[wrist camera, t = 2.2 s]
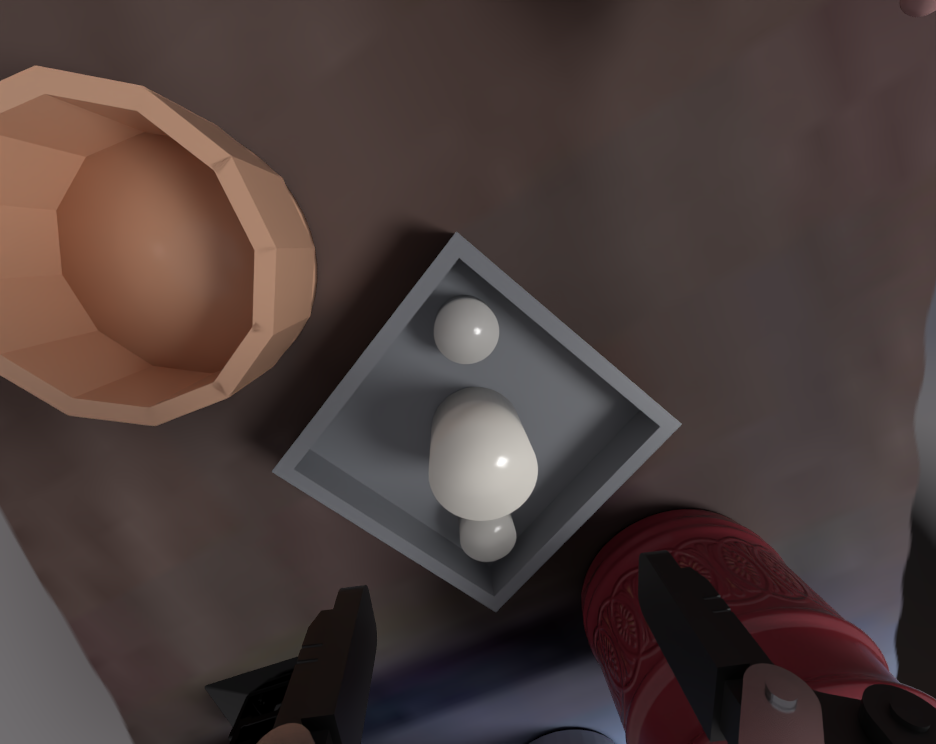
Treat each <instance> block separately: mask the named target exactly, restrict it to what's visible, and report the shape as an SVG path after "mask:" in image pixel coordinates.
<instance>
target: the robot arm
mask: <svg viewBox="0 0 936 744" xmlns="http://www.w3.org/2000/svg"><path fill="white" fill-rule="evenodd" d="M638 599H639V604H640V608H641V611H642V614H643V616H644V619H645V621H646V622H647V624H648V626H649V628H650V630H651V632H652V634H653V636H654V638H655V639H656V641H657V643H658V645H659V647H660V649H661V651H662V653H663V654H664V656H665V658H666V660H667V662H668V664H669V666H670V668H671V669H672V671H673V673H674V675H675V677H676V679H677V681H678V683H679V685H680V686H681V688H682V690H683V692H684V694H685V696H686V698H687V700H688V701H689V703H690V705H691V707H692V709H693V711H694V713H695V715H696V717H697V718H698V720H699V722H700V724H701V726H702V728H703V730H704V732H705V733H706V735H707V737H708V739H709V741H710V742H716V741H724V740H726V741H727V742H728V744H936V708H935V707H933V706H932V705H931V704H930V703H928V702H927V701H925V700H924V699H922V698H920V697H919V696H917V695H915V694H913V693H911V692H909V691H907V690H904V689H902V688H899V687H896V686H892V685H887V684H874V685H871V686H868V687H867V688H866V689H865V690H864V692H863V695H862V699H861V700H860V699H854V698H849V697H844V696H838V695H833V694H827V693H823V692H819V691H815V690H812V689H811V688H810V687H809V686H808V685H807V684H806V683H805V682H804V681H803V680H802V679H801V678H799V677H798V676H797V675H795V674H794V673H792V672H790V671H788V670H786V669H784V668H782V667H779V666H776V665H774V663H773V662H772V661H771V660H770V659H769V657H768V656H767V655H766V653H765V652H764V651H763V650H762V648H761V647H760V646H759V645H758V643H757V642H756V641H755V639H754V638H753V637H752V636H751V634H750V633H749V632H748V630H747V629H746V628H745V627H744V625H743V624H742V623H741V621H740V620H739V619H738V618H737V616H736V615H735V614H734V612H731V610H730V607H729V606H728V605H727V603H726V602H725V601H724V600H723V598H722V599H721V597H720V595H719V593H718V592H717V591H716V589H715V588H714V587H713V586H712V584H711V583H710V582H709V580H708V579H706V578H705V577H704V576H702V575H701V574H699V573H698V572H697V571H695V570H694V569H692V568H691V567H685V568H681V567H680V566H679V565H678V563H677V562H676V561H675V559H674V558H673V556H672V555H671V554H670V553H669V552H668V551H667V550H662V551H654V552H646V553H641V554H640V555H639V571H638ZM376 647H377V630H376V623H375V618H374V613H373V608H372V604H371V599H370V594H369V589H368V587H367V586H366V585H364V586H356V587H347V588H341V589H340V590H339V592H338V595H337V598H336V602H335V605H334V608H333V609H331V610H323V611H321V612H320V613H319V614H318V616H317V617H316V618H315V620H314V621H313V622H312V623H311V625H310V626H309V627H308V630H307V633H306V636H305V639H304V642H303V644H302V649H301V650H300V653H299V656H298V659H297V664H296V665H295V667H294V670H293V673H292V676H291V679H290V682H289V684H288V687H287V690H286V693H285V696H284V699H283V701H282V704H281V707H280V710H279V713H278V716H277V719H276V721H275V724H274V726H273V729H272V730H271V731H270V732H268V733H267V734H266V735H265V736H264V737H263V738H262V739H261V740H260V741H259V742H258V743H257V744H361V739H362V733H363V727H364V720H365V714H366V708H367V702H368V696H369V690H370V684H371V678H372V672H373V666H374V660H375V654H376ZM529 744H615V743H614V742H613V741H612V740H610V739H609V738H607V737H606V736H604V735H601V734H598V733H595V732H592V731H586V730H564V731H558V732H553V733H550V734H547V735H544V736H542V737H540V738H538V739H536V740H534V741H532V742H531V743H529Z"/></svg>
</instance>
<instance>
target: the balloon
mask: <svg viewBox="0 0 936 744" xmlns="http://www.w3.org/2000/svg"><path fill="white" fill-rule="evenodd" d="M900 8H901V10H902V11H903V12H904V13H905V14H907V15H909V16H912V17H922V16H925V15H928V14H930V13H932V12H934V11H935V10H936V0H900Z"/></svg>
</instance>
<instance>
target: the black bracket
mask: <svg viewBox="0 0 936 744" xmlns="http://www.w3.org/2000/svg"><path fill="white" fill-rule="evenodd" d="M297 659H298V657H295V658H292V659H289V660H285V661H282V662H279V663H276V664H273V665H270V666H266V667H263V668H260V669H257V670H254V671H251V672H247V673H244V674H241V675H238V676H235V677H232V678H228V679H225V680H222V681H219V682H216V683H212V684H209V685H206V686H205V689H206V691H207V692H208V693H209V695H210V696H211V697H212V699H213V700H214V702H215V703H216V704H217V706H218V707H219V709H220V710H221V711H222V713H223V714H224V715H225V717H226V718H227V720H228V721H229V722H230V724H231V725H232V727H233V728H232V730H231V732H230V735H229V737H228V738H229V740H230V744H257V743H258V742H259V741H260V740H261V739H262V738H263V737H264V736H265V735H266V734H267V733H268V732H270V731H271V730H272V729H273V726H274V724H275V721H276V719H277V716H278V713H279V710H280V707H281V704H282V701H283V699H284V696H285V693H286V690H287V687H288V684H289V682H290V679H291V676H292V673H293V670H294V667H295V665H296V664H297Z"/></svg>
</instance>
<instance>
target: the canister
mask: <svg viewBox="0 0 936 744" xmlns="http://www.w3.org/2000/svg"><path fill="white" fill-rule="evenodd" d="M662 550H667V551H668V552H669V553H670V554H671V555H672V556H673V558H674V559H675V561H676V562H677V563H678V565H679V566H680V567H681V568H685V567H691V568H692V569H694V570H695V571H697V572H698V573H699V574H701V575H702V576H704V577H705V578H706V579H708V580H709V582H710V583H711V584H712V586H713V587H714V588H715V589H716V591H717V592H718V593H719V595H720V597H721V599H722V598H723V600H724V601H725V602H726V603H727V605H728V606H729V607H730V610H731V612H734V614H735V615H736V616H737V618H738V619H739V620H740V621H741V623H742V624H743V625H744V627H745V628H746V629H747V630H748V632H749V633H750V634H751V636H752V637H753V638H754V639H755V641H756V642H757V643H758V645H759V646H760V647H761V648H762V650H763V651H764V652H765V653H766V655H767V656H768V657H769V659H770V660H771V661H772V662H773V663H774V665H776V666H779V667H782V668H784V669H786V670H788V671H790V672H792V673H794V674H795V675H797V676H798V677H799V678H801V679H802V680H803V681H804V682H805V683H806V684H807V685H808V686H809V687H810V688H811V689H812V690H815V691H819V692H823V693H827V694H833V695H838V696H844V697H849V698H854V699H860V700H861V699H862V695H863V692H864V690H865V689H866V688H867V687H868V686H871V685H874V684H887V685H892V686H896V687H899V688H902V689H904V690H907V691H909V692H911V693H913V694H915V695H917V696H919V697H920V698H922V699H924V700H925V701H927V702H928V703H930V704H931V705H932V706H933V707H935V708H936V699H934V698H933V697H931V696H929V695H928V694H926V693H924V692H922V691H920V690H917V689H915V688H913V687H910V686H907V685H904V684H901V683H900V682H898V680H897V679H896V678H895V677H894V676H893V675H892V674H891V673H890V672H889V668H888V665H887V662H886V660H885V658H884V656H883V654H882V652H881V651H880V649H879V648H878V646H877V645H876V644H875V642H874V641H873V640H872V639H871V638H870V637H869V636H868V635H867V634H866V633H865V632H863V631H862V630H861V629H860V628H858V627H857V626H855V625H854V624H852V623H850V622H848V621H846V620H845V619H844V618H842V617H841V616H840V615H839V614H838V613H837V612H836V611H835V610H834V609H833V608H832V607H831V606H830V605H829V604H827V603H826V602H825V601H824V600H823V599H822V598H821V597H820V596H819V595H818V594H817V593H816V592H815V591H813V590H812V589H811V588H810V587H809V586H808V585H807V584H806V583H805V582H804V581H803V580H802V579H801V578H799V577H798V576H797V575H796V574H795V573H794V572H793V571H792V570H791V569H790V568H789V567H788V566H787V565H786V564H785V563H784V561H783V560H782V558H781V557H780V556H779V554H778V553H777V552H776V551H775V550H774V549H773V548H772V547H771V546H770V545H768V544H767V543H766V542H765V541H764V540H763V539H762V538H761V537H759V536H758V535H757V534H755V533H754V532H753V531H751V530H749V529H748V528H746V527H744V526H742V525H740V524H738V523H737V522H735V521H734V520H732V519H730V518H728V517H726V516H724V515H721V514H718V513H714V512H711V511H705V510H697V509H681V510H672V511H667V512H662V513H658V514H655V515H652V516H649V517H647V518H644V519H642V520H640V521H638V522H636V523H634V524H632V525H630V526H628V527H627V528H625V529H624V530H622V531H621V532H619V533H618V534H617V535H616V536H614V537H613V538H612V539H611V540H610V541H609V542H608V543H607V544H606V545H605V546H604V547H603V548H602V549H601V550H600V552H599V553H598V554H597V555H596V557H595V558H594V560H593V561H592V563H591V565H590V567H589V569H588V571H587V573H586V576H585V579H584V582H583V587H582V593H581V605H582V612H583V623H584V628H585V633H586V636H587V639H588V641H589V644H590V647H591V650H592V652H593V655H594V656H595V658H596V660H597V662H598V663H599V664H600V666H601V669H602V671H603V674H604V677H605V679H606V682H607V685H608V687H609V690H610V693H611V695H612V698H613V701H614V704H615V706H616V709H617V712H618V714H619V717H620V720H621V722H622V725H623V728H624V730H625V733H626V744H728V742H727V741H726V740H724V741H716V742H710V741H709V739H708V737H707V735H706V733H705V732H704V730H703V728H702V726H701V724H700V722H699V720H698V718H697V717H696V715H695V713H694V711H693V709H692V707H691V705H690V703H689V701H688V700H687V698H686V696H685V694H684V692H683V690H682V688H681V686H680V685H679V683H678V681H677V679H676V677H675V675H674V673H673V671H672V669H671V668H670V666H669V664H668V662H667V660H666V658H665V656H664V654H663V653H662V651H661V649H660V647H659V645H658V643H657V641H656V639H655V638H654V636H653V634H652V632H651V630H650V628H649V626H648V624H647V622H646V621H645V619H644V616H643V614H642V611H641V608H640V604H639V599H638V571H639V555H640V554H641V553H646V552H654V551H662Z"/></svg>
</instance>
